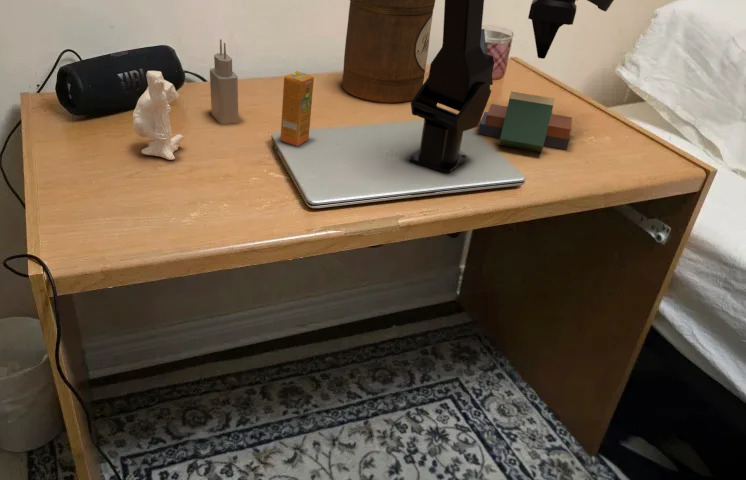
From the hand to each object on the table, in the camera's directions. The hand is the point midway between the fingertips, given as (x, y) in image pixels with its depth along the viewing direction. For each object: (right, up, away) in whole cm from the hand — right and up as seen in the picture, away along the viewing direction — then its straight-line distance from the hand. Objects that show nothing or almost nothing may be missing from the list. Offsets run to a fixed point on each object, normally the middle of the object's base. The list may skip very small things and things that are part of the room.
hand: (541, 57), depth 104 cm
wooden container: (-24, 0, +18) cm, 30 cm away
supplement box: (-39, -14, -4) cm, 41 cm away
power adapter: (-50, -9, +2) cm, 51 cm away
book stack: (-2, -12, +3) cm, 12 cm away
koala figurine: (-57, -17, -10) cm, 61 cm away
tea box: (-4, -15, -1) cm, 15 cm away
